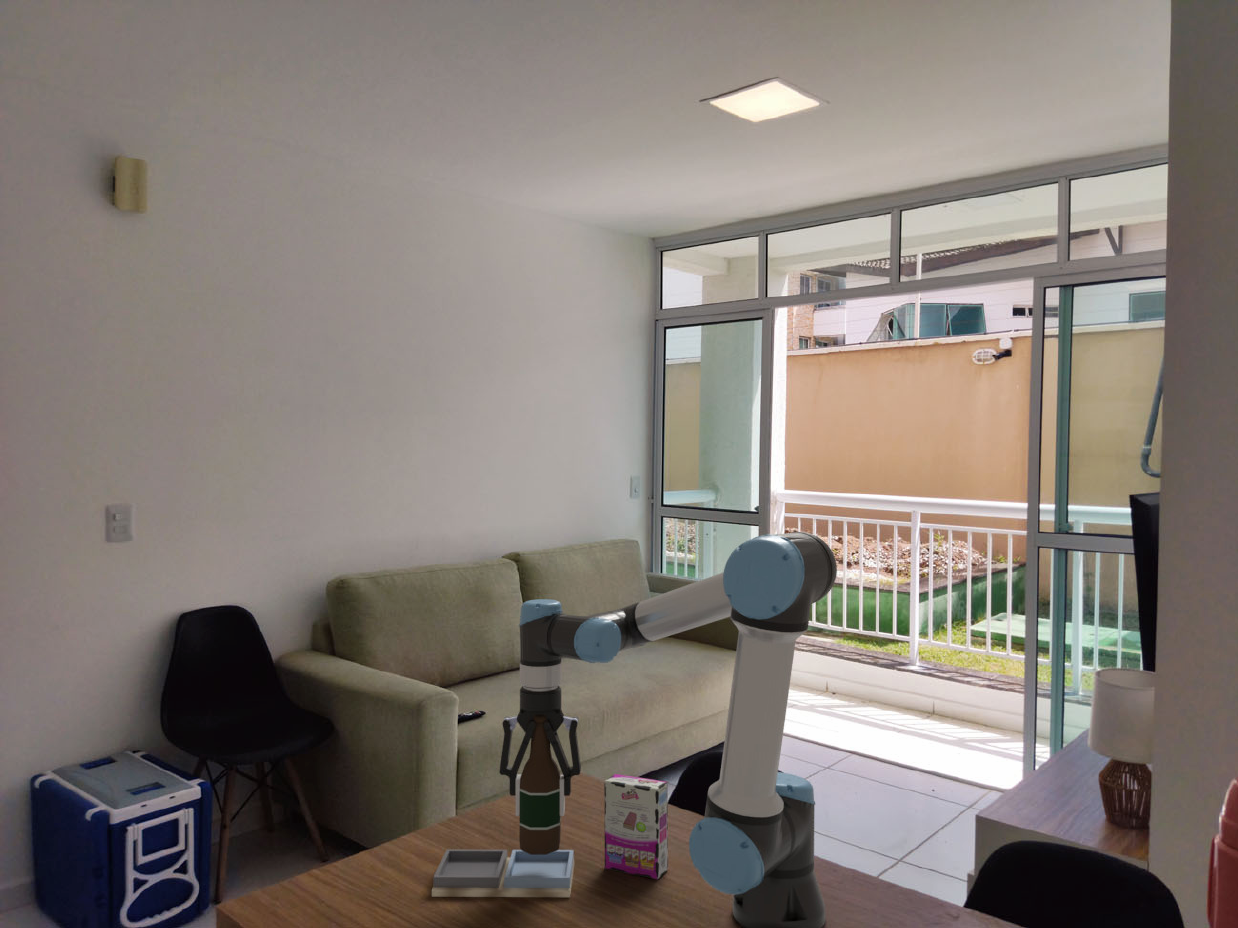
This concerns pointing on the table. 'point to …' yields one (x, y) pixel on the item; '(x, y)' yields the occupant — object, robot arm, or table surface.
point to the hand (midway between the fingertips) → (540, 812)
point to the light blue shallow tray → (539, 870)
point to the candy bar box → (636, 825)
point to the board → (503, 890)
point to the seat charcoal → (470, 869)
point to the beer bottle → (540, 797)
